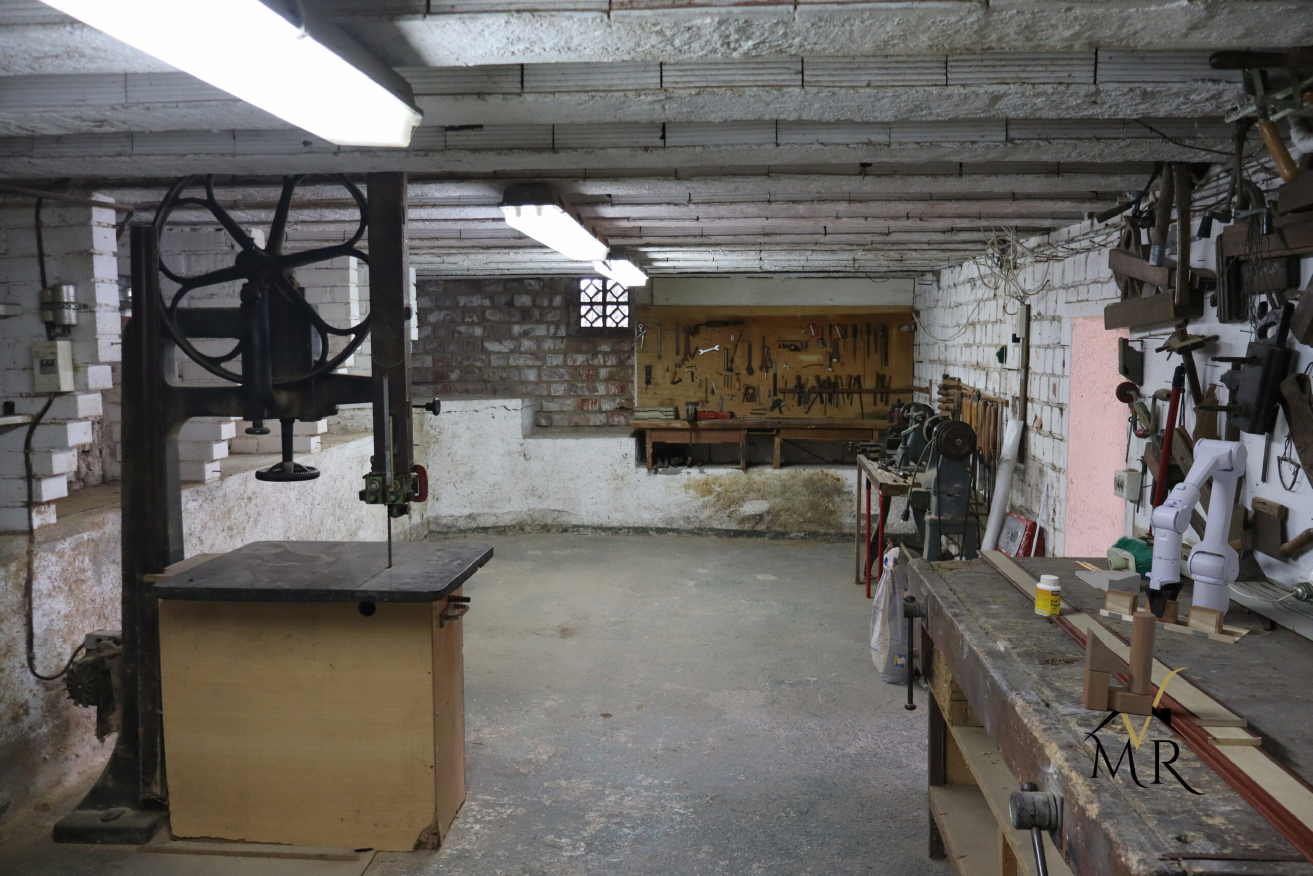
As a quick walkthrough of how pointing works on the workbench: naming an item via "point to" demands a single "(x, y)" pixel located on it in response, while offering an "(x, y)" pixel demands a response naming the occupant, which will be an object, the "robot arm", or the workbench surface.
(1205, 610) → the faced block
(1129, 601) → the faced block
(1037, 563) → the workbench surface
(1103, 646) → the wooden block
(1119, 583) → the ramp
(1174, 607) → the turned block
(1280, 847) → the workbench surface
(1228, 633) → the long shallow wooden tray
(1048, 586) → the supplement bottle
